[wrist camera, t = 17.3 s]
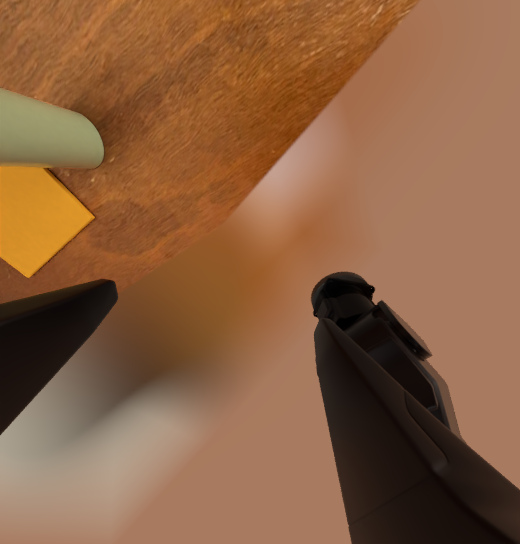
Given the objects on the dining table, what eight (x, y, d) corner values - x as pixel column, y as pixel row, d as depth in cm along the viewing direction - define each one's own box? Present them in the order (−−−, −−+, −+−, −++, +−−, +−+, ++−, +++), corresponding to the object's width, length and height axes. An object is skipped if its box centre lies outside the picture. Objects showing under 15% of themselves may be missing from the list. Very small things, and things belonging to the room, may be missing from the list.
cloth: (-3, 118, 16) (-9, 117, 16) (95, 217, 20) (92, 218, 20) (-59, 207, 20) (-65, 208, 20) (31, 276, 24) (27, 278, 24)
